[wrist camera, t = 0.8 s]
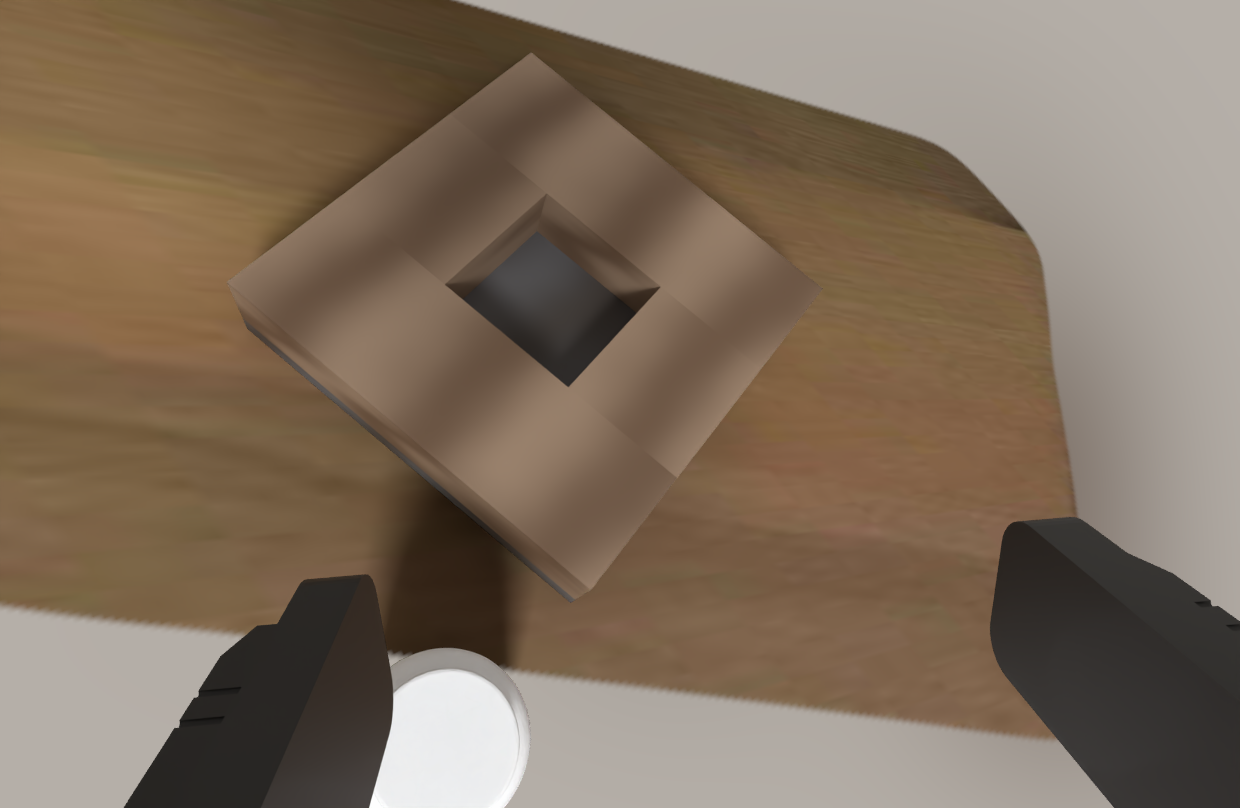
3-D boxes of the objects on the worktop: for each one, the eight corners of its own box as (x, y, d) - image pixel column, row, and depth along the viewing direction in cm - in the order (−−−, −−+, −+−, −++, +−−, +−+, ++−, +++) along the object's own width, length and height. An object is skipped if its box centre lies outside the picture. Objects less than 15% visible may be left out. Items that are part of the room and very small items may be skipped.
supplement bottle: (471, 633, 30) (494, 604, 21) (530, 762, 29) (580, 788, 20) (337, 702, 28) (302, 702, 19) (395, 844, 27) (386, 913, 18)
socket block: (247, 328, 32) (226, 281, 29) (520, 110, 40) (531, 52, 36) (570, 602, 32) (590, 589, 28) (785, 326, 39) (822, 288, 36)
